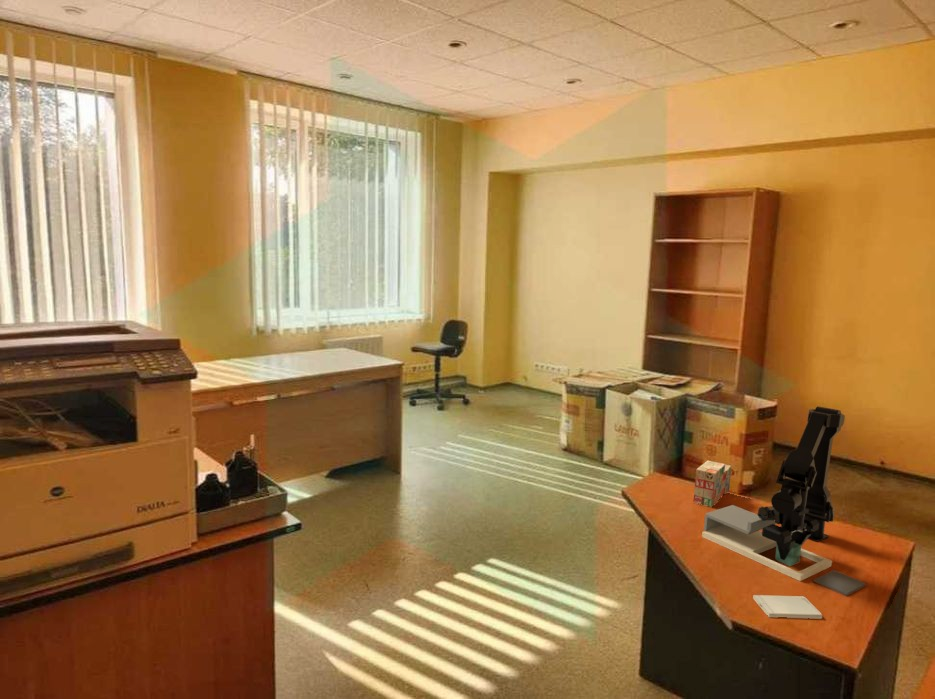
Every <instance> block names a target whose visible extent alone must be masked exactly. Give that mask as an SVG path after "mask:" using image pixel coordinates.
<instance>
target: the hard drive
mask: <svg viewBox="0 0 935 699" xmlns="http://www.w3.org/2000/svg"><path fill="white" fill-rule="evenodd" d="M752 599H753V600H754V601H755V602H756V604H757V605H758V607H759V608H761V610H762V611H763V613H765V615H768V616H767V617H768V618H778V617H787V618H786V619H808V618H809V619H811V620H812V619H813V620H815V619H816V620H817V619H818V620H822V619H823V614H822V613H821V612H820V611H819V609H817V607H816V606H814V604H812V603H811V602H810V601H809V599H807V598H806V597H805V596H802V595H801V596H800V595H799V596H797V595H793V596H792V595H766V594H765V595H761V594H758V595H757V594H753V596H752Z"/></svg>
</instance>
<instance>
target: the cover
mask: <svg viewBox="0 0 935 699" xmlns="http://www.w3.org/2000/svg"><path fill="white" fill-rule="evenodd" d="M724 524H725V525H727V526H729V527H732V528H734V529H737V530H739V531H741V532H744V533H746V534H751V533H754V532H756V531H760V530H761V531H762V529H763V528H764V527H766V526H769V525H772V524H774V525H777V523H775V520H766V521H762V519H760V518H759V516H758V515H757V513H755V512H752V511H749V510H746V509H744V508H741V507H739V506H736V505H734V504H731V505H728V506H725V507H722V508H718V509H715V510H712V511H709V512H706V513H705V514H704V522H703V531H707V530H710V529H713V528H716V527H719V526H722V525H724Z"/></svg>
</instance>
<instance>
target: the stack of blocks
mask: <svg viewBox="0 0 935 699" xmlns="http://www.w3.org/2000/svg"><path fill="white" fill-rule="evenodd" d="M731 472H732V465H728V464H726V463H722V462H717V461H712V460H706V461H705V462H704V463H702V464H701V465H700V466H698V467H697V468H696V472H695V479H694V493H693V500H692V501H693V502H695V503H698V504H697V505H699V504H702V505H701V506H703V505H707V506H709V507H708V508H710V507H712V506H713V505H714V504H715V503H716V502H717V501H718V500H719V499H720V498H721V496H723V494H725V495H726V494H727V493H728V492H729V491H730V484H731V476H732V474H731ZM723 497H724V496H723ZM721 499H722V498H721ZM721 499H720V500H721ZM720 500H719V501H720ZM719 501H718V502H719ZM693 502H692V503H693ZM718 502H717V503H718ZM695 503H694V504H695ZM717 503H716V504H717ZM716 504H715V505H716ZM715 505H714V506H715ZM714 506H713V507H714ZM713 507H712V508H713Z"/></svg>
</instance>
